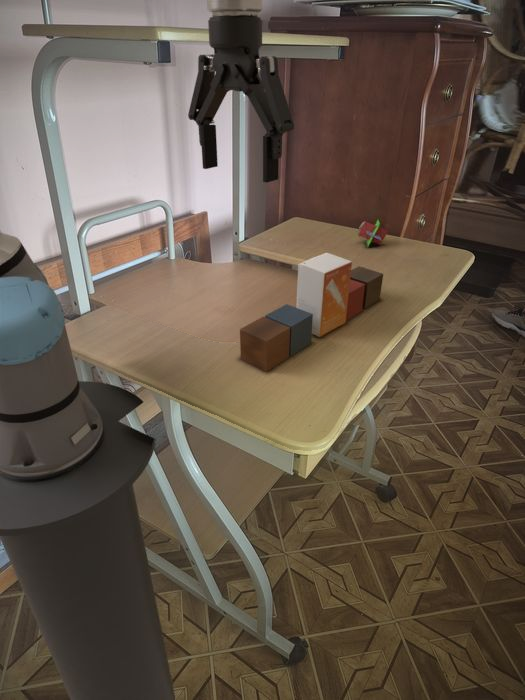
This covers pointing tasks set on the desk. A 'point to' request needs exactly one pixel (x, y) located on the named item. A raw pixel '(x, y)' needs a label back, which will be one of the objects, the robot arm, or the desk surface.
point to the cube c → (355, 298)
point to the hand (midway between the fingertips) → (239, 174)
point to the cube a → (264, 343)
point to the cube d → (368, 284)
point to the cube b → (294, 325)
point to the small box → (324, 291)
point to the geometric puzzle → (372, 232)
